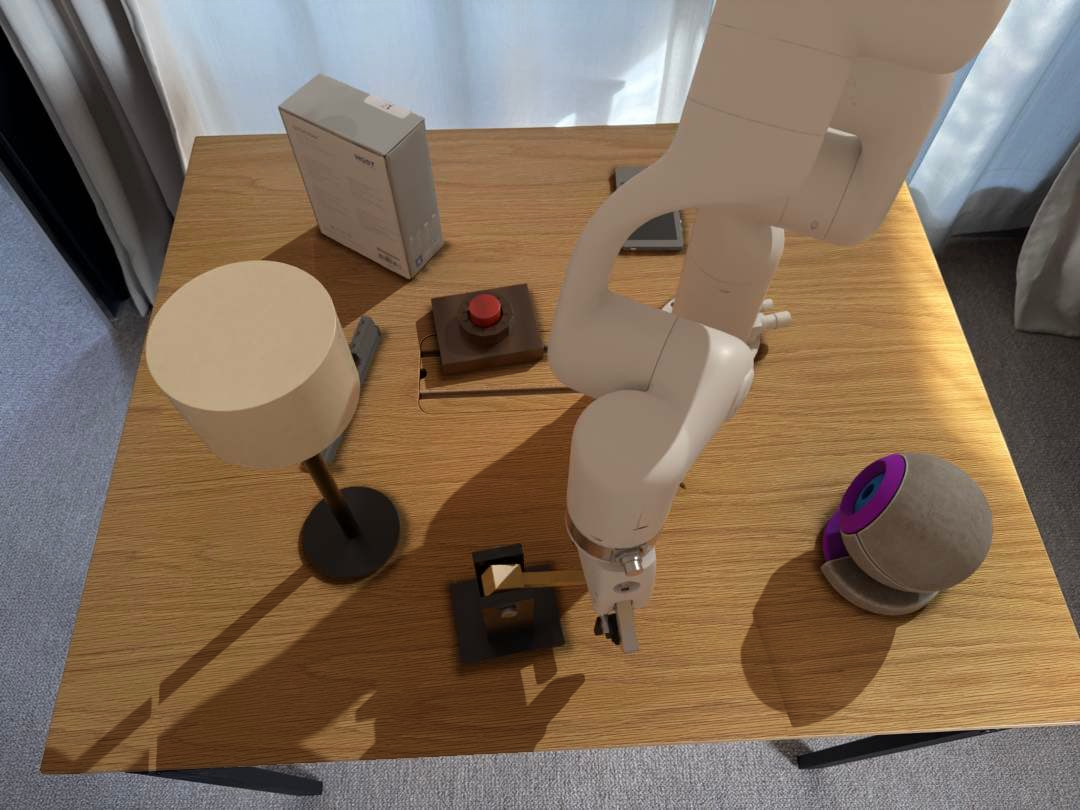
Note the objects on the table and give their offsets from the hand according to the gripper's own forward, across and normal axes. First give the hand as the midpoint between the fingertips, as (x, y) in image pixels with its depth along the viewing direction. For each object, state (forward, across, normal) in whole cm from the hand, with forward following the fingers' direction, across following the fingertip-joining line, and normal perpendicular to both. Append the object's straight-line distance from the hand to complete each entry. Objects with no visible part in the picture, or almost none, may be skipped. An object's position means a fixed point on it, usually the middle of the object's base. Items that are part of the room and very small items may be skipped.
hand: (598, 583), depth 73 cm
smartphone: (+5, +50, -20) cm, 55 cm away
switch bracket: (+5, 0, +9) cm, 10 cm away
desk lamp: (+5, +12, +23) cm, 26 cm away
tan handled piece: (-3, 0, +5) cm, 6 cm away
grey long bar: (+5, +28, +22) cm, 36 cm away
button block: (+5, +34, +5) cm, 35 cm away
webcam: (+5, -2, -30) cm, 30 cm away
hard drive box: (+5, +52, +16) cm, 55 cm away
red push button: (+1, +34, +5) cm, 35 cm away
